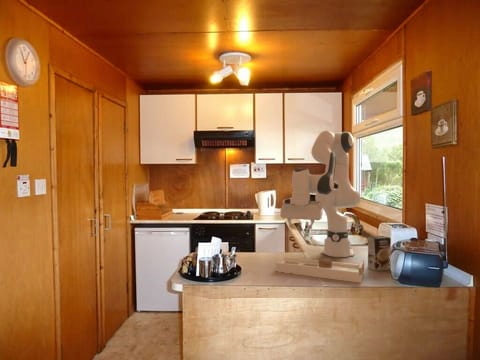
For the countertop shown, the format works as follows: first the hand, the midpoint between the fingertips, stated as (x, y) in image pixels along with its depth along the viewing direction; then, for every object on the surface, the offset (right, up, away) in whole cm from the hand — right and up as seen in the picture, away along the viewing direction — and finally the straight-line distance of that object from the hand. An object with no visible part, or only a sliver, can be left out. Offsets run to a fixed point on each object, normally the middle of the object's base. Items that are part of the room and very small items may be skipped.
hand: (300, 228), depth 167 cm
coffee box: (+40, -21, +3) cm, 46 cm away
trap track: (+8, -22, -3) cm, 23 cm away
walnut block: (+11, -19, -4) cm, 22 cm away
